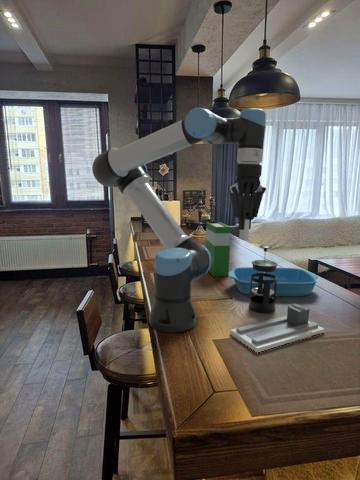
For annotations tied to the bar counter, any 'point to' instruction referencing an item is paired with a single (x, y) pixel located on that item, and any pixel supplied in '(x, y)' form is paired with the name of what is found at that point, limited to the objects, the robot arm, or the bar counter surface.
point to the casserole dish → (287, 281)
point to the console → (273, 333)
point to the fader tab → (297, 315)
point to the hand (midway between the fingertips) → (243, 239)
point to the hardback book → (218, 248)
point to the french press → (263, 286)
